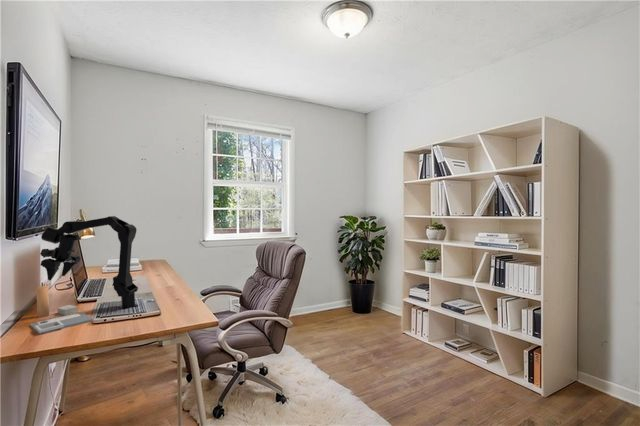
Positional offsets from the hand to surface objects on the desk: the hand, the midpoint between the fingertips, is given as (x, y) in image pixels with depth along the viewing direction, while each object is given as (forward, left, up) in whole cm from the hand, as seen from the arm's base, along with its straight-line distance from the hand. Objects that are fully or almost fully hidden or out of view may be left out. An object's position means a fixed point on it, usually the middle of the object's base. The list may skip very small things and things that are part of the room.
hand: (56, 278), depth 160 cm
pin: (-7, +7, -15) cm, 18 cm away
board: (-26, +4, -15) cm, 30 cm away
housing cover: (-11, -1, -15) cm, 18 cm away
